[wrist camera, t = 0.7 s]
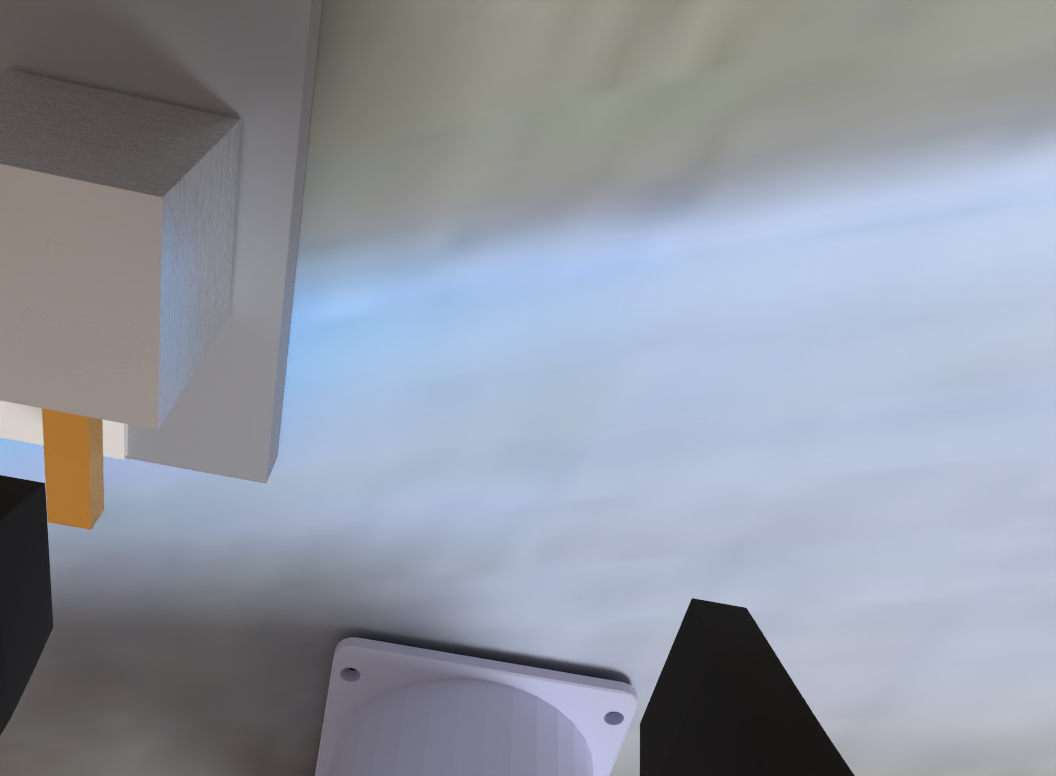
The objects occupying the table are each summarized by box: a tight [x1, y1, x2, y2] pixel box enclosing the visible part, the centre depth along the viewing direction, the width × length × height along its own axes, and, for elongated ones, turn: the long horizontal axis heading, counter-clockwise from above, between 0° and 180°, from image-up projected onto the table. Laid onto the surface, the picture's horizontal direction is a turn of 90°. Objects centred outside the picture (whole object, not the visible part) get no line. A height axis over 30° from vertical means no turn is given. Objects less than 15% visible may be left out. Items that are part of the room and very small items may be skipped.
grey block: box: [0, 69, 241, 529], centre depth 17 cm, size 8×4×4 cm, turn 168°
